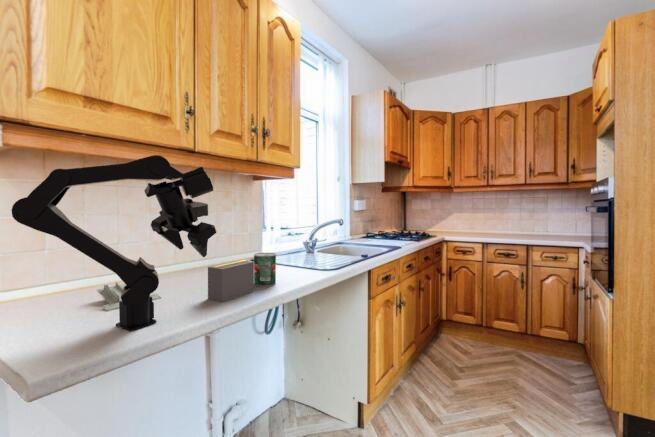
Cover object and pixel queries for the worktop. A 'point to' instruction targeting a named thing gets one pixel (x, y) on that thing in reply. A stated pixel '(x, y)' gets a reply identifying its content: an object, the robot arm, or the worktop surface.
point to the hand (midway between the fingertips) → (193, 252)
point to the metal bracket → (116, 296)
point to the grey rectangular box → (230, 280)
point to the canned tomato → (264, 269)
